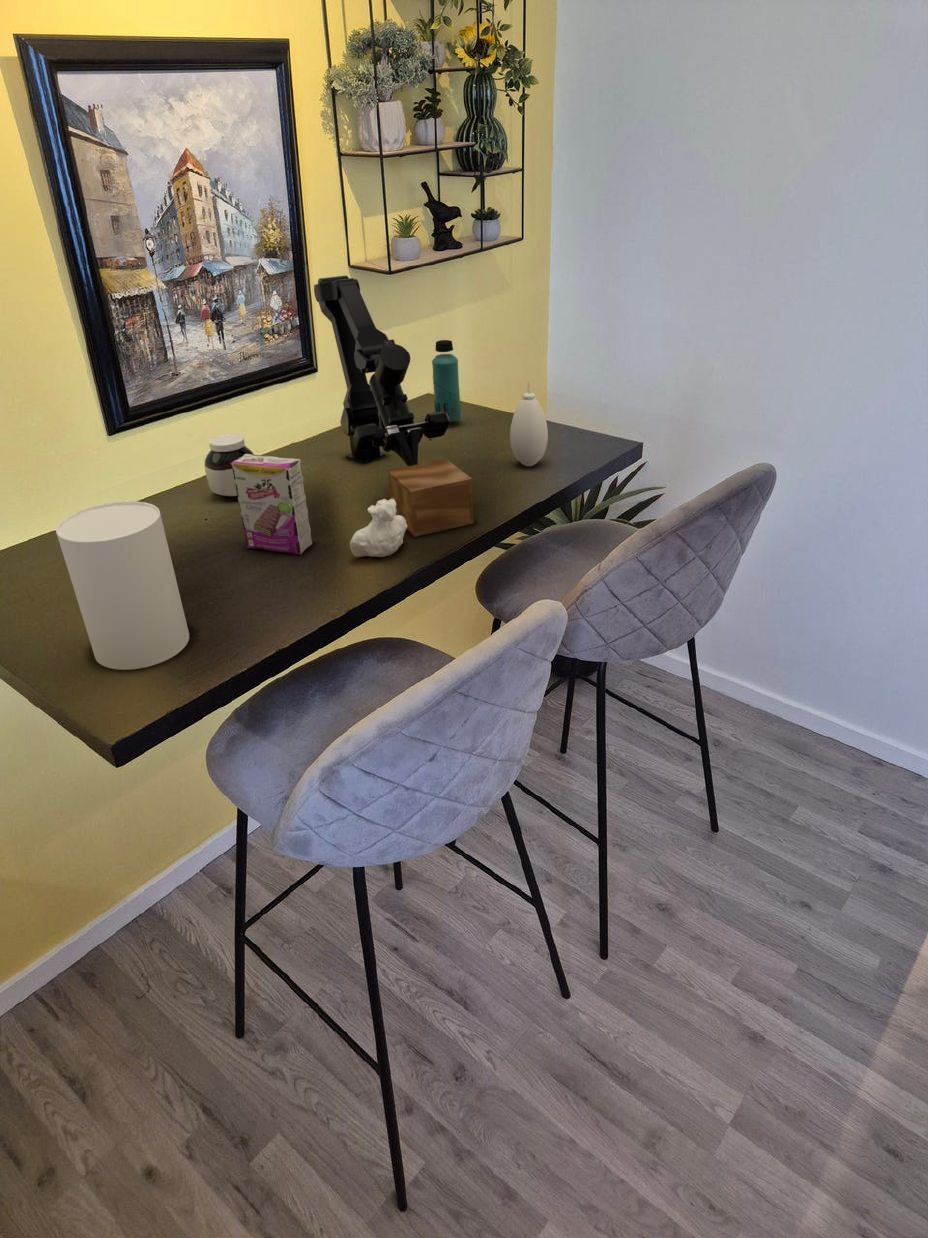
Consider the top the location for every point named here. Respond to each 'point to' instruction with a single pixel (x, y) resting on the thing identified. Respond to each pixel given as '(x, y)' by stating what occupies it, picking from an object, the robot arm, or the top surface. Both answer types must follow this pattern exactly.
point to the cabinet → (432, 496)
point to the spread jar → (224, 464)
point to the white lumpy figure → (380, 531)
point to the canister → (124, 583)
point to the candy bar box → (272, 503)
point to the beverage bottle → (446, 381)
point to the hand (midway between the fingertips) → (415, 470)
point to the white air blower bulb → (528, 430)
